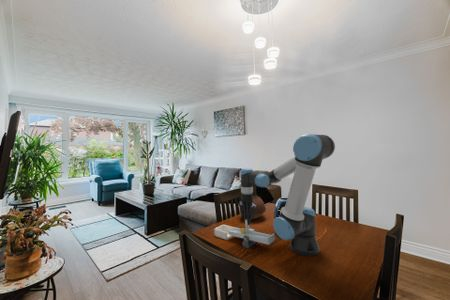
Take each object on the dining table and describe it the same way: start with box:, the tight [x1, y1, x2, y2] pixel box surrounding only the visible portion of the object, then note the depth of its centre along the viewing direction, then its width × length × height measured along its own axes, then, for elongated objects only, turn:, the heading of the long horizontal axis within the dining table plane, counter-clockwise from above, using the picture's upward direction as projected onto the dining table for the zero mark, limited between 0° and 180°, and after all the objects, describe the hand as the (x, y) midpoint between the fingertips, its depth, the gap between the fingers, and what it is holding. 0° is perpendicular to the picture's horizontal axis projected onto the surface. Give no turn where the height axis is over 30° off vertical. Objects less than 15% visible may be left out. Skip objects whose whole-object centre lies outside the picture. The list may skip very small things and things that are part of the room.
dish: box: [213, 224, 235, 241], centre depth 133 cm, size 11×10×4 cm
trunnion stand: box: [242, 230, 258, 249], centre depth 120 cm, size 4×11×6 cm, turn 139°
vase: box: [251, 185, 267, 220], centre depth 162 cm, size 25×20×30 cm
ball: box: [240, 227, 246, 234], centre depth 123 cm, size 4×4×4 cm
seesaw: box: [228, 227, 276, 245], centre depth 122 cm, size 28×13×3 cm, turn 49°
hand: (247, 229), depth 129 cm, fingers closed
